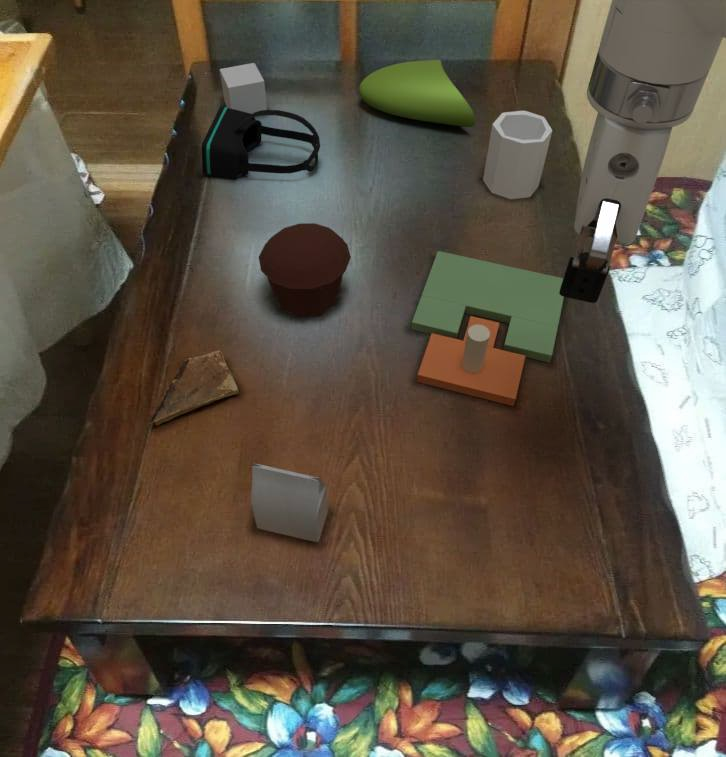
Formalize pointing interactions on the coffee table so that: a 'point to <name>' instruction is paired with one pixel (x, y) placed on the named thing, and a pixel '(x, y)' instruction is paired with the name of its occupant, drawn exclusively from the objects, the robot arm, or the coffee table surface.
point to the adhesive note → (243, 88)
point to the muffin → (305, 268)
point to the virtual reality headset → (249, 143)
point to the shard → (196, 386)
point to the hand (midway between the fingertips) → (584, 259)
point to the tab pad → (472, 383)
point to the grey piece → (288, 502)
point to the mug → (516, 154)
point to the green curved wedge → (417, 93)
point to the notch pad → (492, 302)
